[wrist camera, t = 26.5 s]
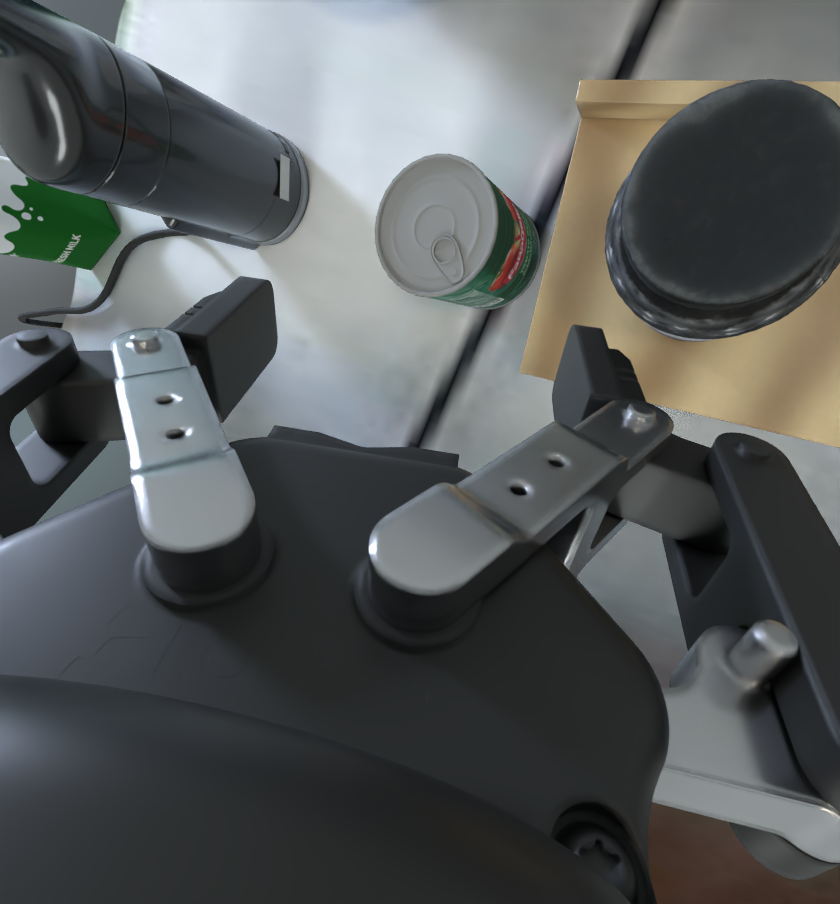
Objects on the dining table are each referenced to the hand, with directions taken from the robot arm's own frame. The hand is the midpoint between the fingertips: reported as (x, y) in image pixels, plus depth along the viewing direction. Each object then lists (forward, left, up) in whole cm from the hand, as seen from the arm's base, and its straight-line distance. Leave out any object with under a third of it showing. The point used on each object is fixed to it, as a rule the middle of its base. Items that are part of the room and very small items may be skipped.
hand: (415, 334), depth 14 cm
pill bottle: (+8, -1, -13) cm, 15 cm away
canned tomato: (-2, +9, -28) cm, 29 cm away
